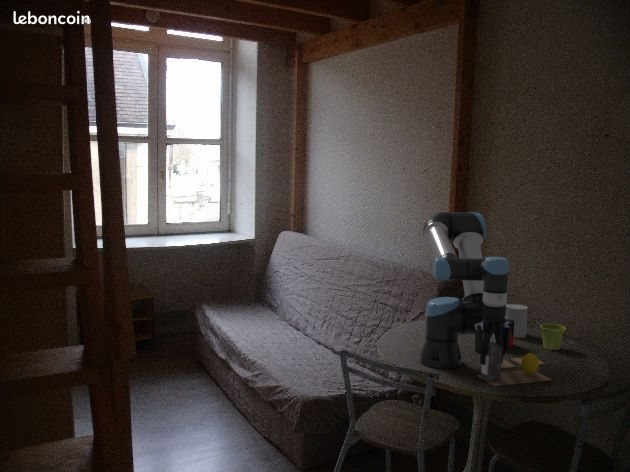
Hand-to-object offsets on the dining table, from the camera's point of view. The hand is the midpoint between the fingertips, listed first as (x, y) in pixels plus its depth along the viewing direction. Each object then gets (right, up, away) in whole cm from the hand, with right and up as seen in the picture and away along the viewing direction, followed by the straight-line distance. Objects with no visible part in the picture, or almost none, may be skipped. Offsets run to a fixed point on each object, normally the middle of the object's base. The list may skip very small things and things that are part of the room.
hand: (490, 372), depth 193 cm
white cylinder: (+27, +3, +55) cm, 61 cm away
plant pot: (+35, +1, +36) cm, 50 cm away
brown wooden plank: (+13, -1, +18) cm, 22 cm away
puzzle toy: (+14, +2, +40) cm, 42 cm away
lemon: (+14, -2, +4) cm, 15 cm away
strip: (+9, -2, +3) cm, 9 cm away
